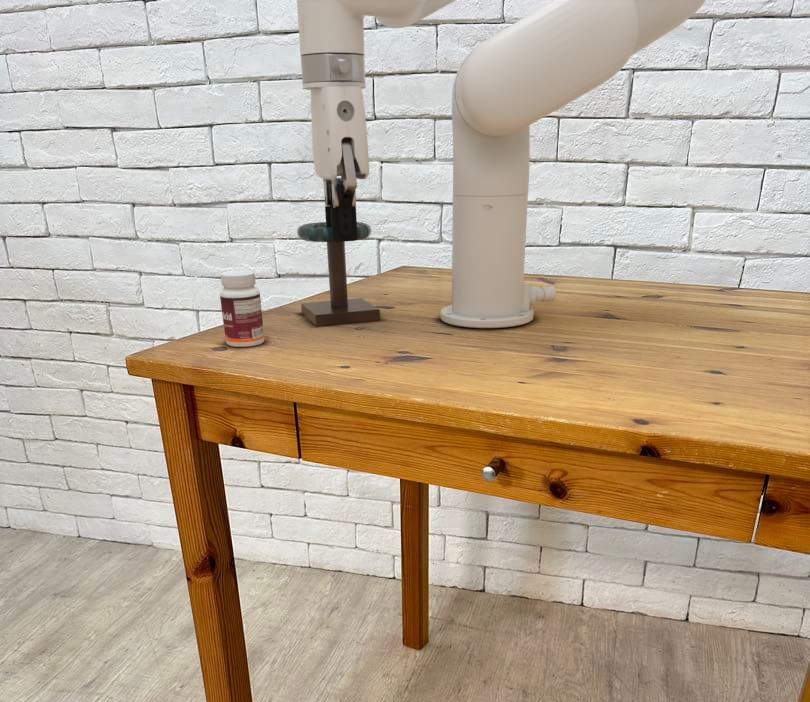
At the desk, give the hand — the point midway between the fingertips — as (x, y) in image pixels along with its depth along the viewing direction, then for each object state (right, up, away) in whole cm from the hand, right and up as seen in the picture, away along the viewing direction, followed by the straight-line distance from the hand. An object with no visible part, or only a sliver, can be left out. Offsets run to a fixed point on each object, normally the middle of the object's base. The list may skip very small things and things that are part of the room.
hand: (341, 238), depth 100 cm
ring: (-1, +2, +3) cm, 4 cm away
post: (-1, -8, +8) cm, 11 cm away
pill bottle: (-12, -15, -4) cm, 19 cm away
